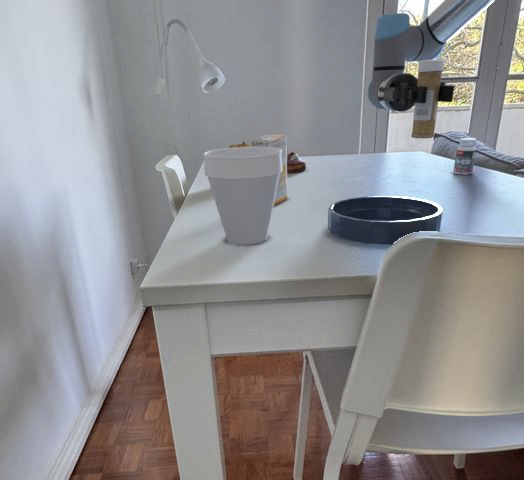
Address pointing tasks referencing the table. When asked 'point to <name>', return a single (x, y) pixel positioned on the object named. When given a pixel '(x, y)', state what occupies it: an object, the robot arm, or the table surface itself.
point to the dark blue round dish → (382, 218)
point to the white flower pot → (244, 189)
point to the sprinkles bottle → (427, 98)
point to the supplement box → (281, 143)
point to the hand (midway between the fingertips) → (437, 94)
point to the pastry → (295, 163)
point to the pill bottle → (465, 156)
